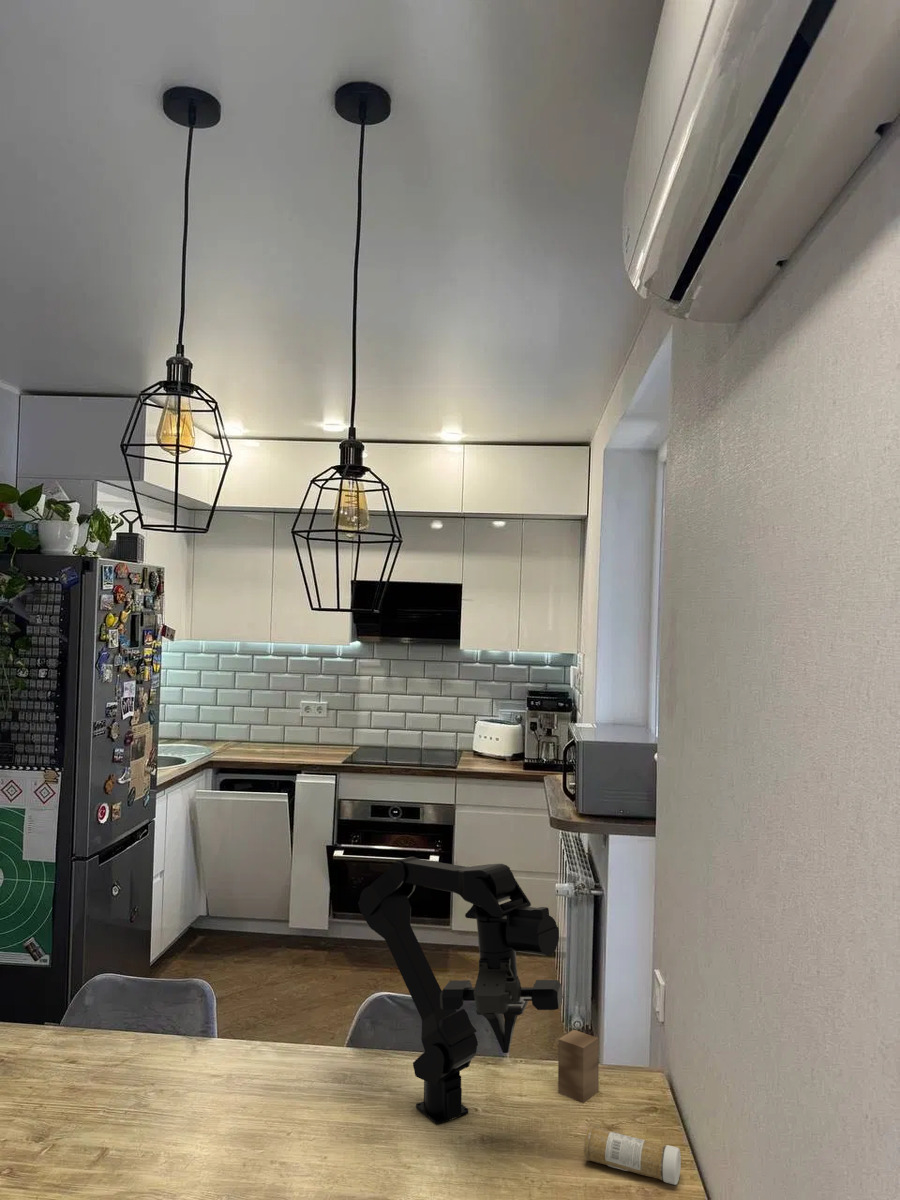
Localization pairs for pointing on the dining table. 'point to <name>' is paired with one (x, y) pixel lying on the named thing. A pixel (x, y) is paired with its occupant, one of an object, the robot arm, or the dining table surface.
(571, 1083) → the walnut block
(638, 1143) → the sprinkles bottle
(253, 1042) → the dining table surface
